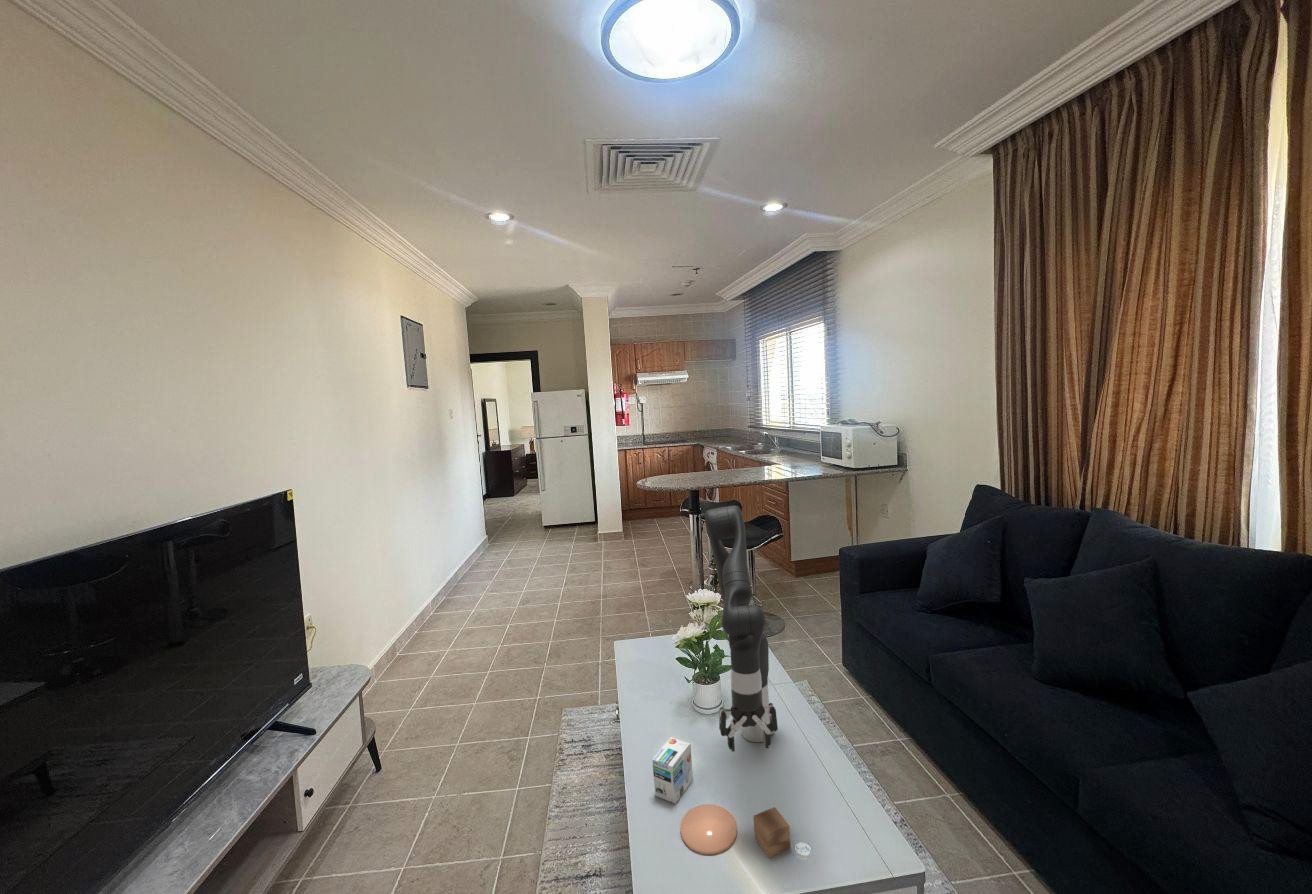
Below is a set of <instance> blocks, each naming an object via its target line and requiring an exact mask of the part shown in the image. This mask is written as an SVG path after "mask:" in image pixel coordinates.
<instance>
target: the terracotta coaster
mask: <svg viewBox="0 0 1312 894" xmlns="http://www.w3.org/2000/svg"><path fill="white" fill-rule="evenodd" d="M679 828H680V836H681V838H682V841H683V843H684V844H685V845H686V847H688V848H689V849H690V850H691V851H693V852H695V853H698V854H701V855H705V856H715V855H717V854H718V855H719V854H721V853H723V852H725V851H727V850H729V849H730V848H731V847H732V846H733V844H734V843H735V842H736V840H737V835H738V826H737V821H736V819H735V817H734V815H733V814H732V813H731V812H730V811H729V810H728V809H726V808H724V807H722V806H720V805H717V804H713V803H712V804H709V803H707V804H706V803H705V804H701V805H697V806H694V807H692V808H691V809H689V810H688V811H687V812H686V813H685V814H684V815H683V817H682V819H681V821H680V827H679Z"/></svg>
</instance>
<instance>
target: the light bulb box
mask: <svg viewBox="0 0 1312 894" xmlns="http://www.w3.org/2000/svg"><path fill="white" fill-rule="evenodd" d="M651 761H652V771H653V782H654V783H653V784H654V793H655V794H654V795H655V796H656V797H658V798H661V799H662V800H664V801H665V800H666V801H668V802H670V803H672V804H676V803H677V802H678V801H679V800H680V799H681V797H682V796H683V794H684V793H685V791H686V790H687V788H688V787H689V786H690V784H691V783H692V781H693V780H694V773H693V760H692V745H691V742H690V743H689V742H686V741H684V740H681V739H677V738H674V737H672V736H670V737H669V739H668V740H667V741H666V742H665V743H664V745H663V746H662V747H661V748H660V749H659V751H658V752H657V753H656V755H654V756H653V758H652V759H651Z"/></svg>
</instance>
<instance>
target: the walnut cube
mask: <svg viewBox="0 0 1312 894" xmlns="http://www.w3.org/2000/svg"><path fill="white" fill-rule="evenodd" d="M753 829H754V839H755V840H756V842H757V843H758V845H759V846H760V848H761V849H762V850H763V852H764V853H765V855H766V856H767V857H768V859H770V858H772V857H775V856H777V855H779V854H780V853H783V852H785V851H787V850H789V849H791V837H790V824H789V823H788V822H787V821H786V820H785V818H784V817H783V816H782V814H781V813H780V812H779V811H778V808H776V807H775V806H774V807H771V808H769V809H766V810H763V811H761V812H759V813H756V814H754V815H753Z"/></svg>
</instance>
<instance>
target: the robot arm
mask: <svg viewBox="0 0 1312 894" xmlns="http://www.w3.org/2000/svg"><path fill="white" fill-rule="evenodd" d="M704 523H705V527H706V533H707V535H708V539H709V544H710V547H711V550H712V551H711V552H712V554H713V558H714V562H715V567H716V575H717V578H718V584H719V590H720V594H721V598H722V602H723V611H722V615H721V627H722V630H723V631H724V633H725V634H726V635H728V645H729V650H730V666H731V667H730V688H731V689H730V690H731V691H730V692H731V707H730V708H727V709H725V708H724V707H723V706H722V707H720V708H719V709H718V710H719V712H718V713H719V714H718V715H719V716H718V717H719V718H718V719H719V720H718V721H719V723H718V724H719V726H718V727H719V728H718V729H719V731H720V735H721V737H725V736H726V738H727V739H726V740H727V746H728V749H729V750H730V751H731V752H735V750H736V749H735V747H736V746H735V737H734V736H735V734H736V733H737V732H739V730H740V729H741V731H740V732H741V735H742V737H743V738H744V739H745V740H746V741H749V742H752V743H763V746H764V748H765V749H769V746H771V744H772V741H771V739H772V738H771V736H772V735H774V734H775V733H774V732H778V729H779V726H778V718H777V710H776V707H775V705H774V704H773V703H772V702H770V698H769V697H770V695H769V694H770V693H769V681H768V679H769V678H768V677H769V669H770V668H769V666H770V663H769V661H770V660H769V659H770V658H769V655H770V654H769V643H768V642H769V641H768V639H767V636H765V634H764V631H765V626H766V625H765V624H766V616H765V613H764V611H763V609H762V608H761V607H760V606H759V605H755V604H750V603H751V600H752V596H753V590H752V583H751V578H750V573H749V569H748V568H749V566H748V555H747V554H748V550H747V549H748V547H747V537H746V525H745V519H744V515H743V512H742V509H741V508H740V506H738V505H729V506H728V505H727V506H722V507H717V508H710V509H708V510H706V511H705V514H704ZM728 539H734V542H733V545H732V548H731V550H730V552H728V550H727V549H726V547H725V545H724V544H723V542H722V540H728ZM730 716H732V719H731V720H730V722H729V725H728V726H727V720H728V719H729V718H730Z"/></svg>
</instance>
